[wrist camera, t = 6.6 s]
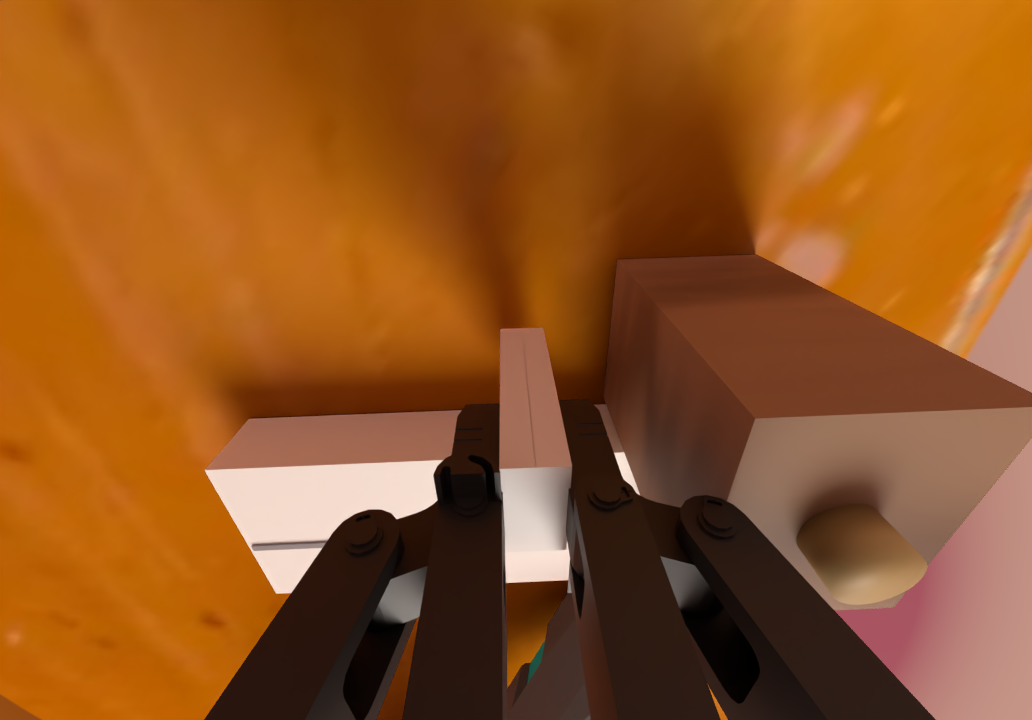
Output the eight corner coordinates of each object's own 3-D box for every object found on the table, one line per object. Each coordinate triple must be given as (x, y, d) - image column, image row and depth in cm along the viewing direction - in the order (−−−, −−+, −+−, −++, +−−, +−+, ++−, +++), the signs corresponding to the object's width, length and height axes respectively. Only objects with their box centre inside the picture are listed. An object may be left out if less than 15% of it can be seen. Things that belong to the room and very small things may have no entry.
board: (249, 418, 17) (202, 472, 15) (753, 398, 18) (798, 446, 15) (303, 537, 21) (275, 595, 19) (713, 518, 22) (743, 574, 19)
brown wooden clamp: (617, 259, 14) (794, 463, 6) (756, 254, 14) (1143, 448, 6) (589, 535, 22) (645, 799, 13) (679, 531, 22) (793, 792, 13)
